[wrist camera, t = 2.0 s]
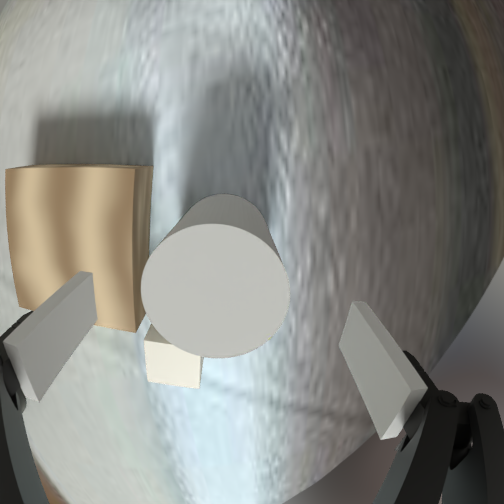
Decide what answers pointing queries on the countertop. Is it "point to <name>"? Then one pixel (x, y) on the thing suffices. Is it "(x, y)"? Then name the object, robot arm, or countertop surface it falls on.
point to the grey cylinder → (217, 280)
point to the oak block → (81, 234)
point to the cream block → (170, 362)
